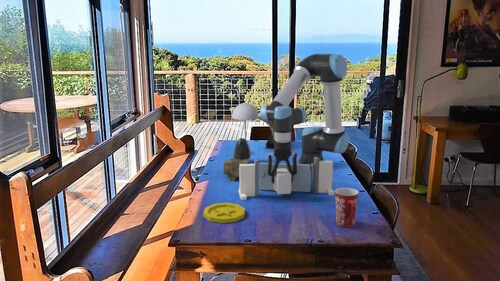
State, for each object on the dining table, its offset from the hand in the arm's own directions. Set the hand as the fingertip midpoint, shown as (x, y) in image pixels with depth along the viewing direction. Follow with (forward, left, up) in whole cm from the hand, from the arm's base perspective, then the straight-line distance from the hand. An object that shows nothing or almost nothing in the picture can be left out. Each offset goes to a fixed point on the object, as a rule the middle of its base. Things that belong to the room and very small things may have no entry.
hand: (282, 189), depth 192 cm
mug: (-18, +36, -3) cm, 40 cm away
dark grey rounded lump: (+11, -56, -3) cm, 58 cm away
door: (-3, -5, -3) cm, 7 cm away
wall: (-3, -2, -3) cm, 5 cm away
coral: (-16, -97, -3) cm, 99 cm away
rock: (+18, -32, -3) cm, 37 cm away
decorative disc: (+28, +18, -4) cm, 34 cm away
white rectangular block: (0, 0, 0) cm, 0 cm away
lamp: (+6, -78, -3) cm, 79 cm away
